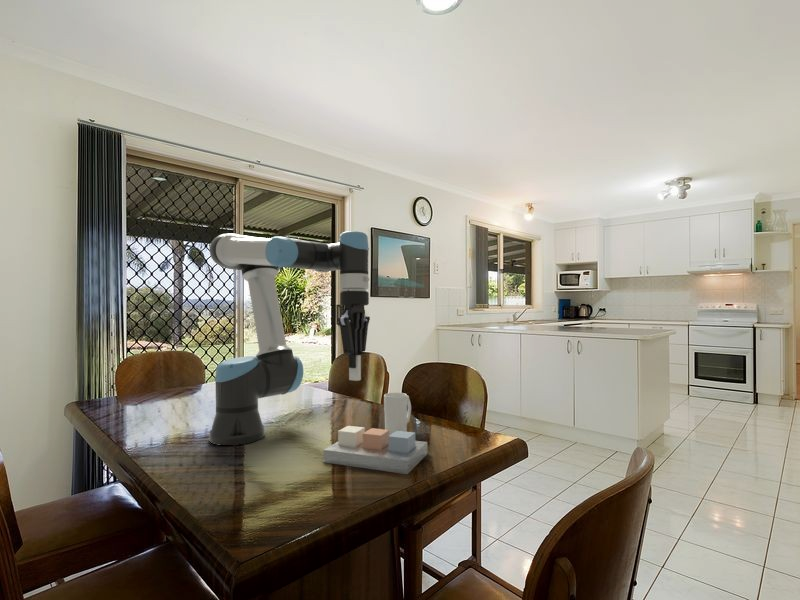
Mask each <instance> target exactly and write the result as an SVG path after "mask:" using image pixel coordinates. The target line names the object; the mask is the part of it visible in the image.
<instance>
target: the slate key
mask: <svg viewBox="0 0 800 600" xmlns="http://www.w3.org/2000/svg"><path fill="white" fill-rule="evenodd" d="M415 441H416V432H415V431H414V432H413V431H407V432H405V431H395V432H394V433H393V434H391V435H390V436H389V452H397V453H405V454H409V453H411V452H412V451H413V450H414V449H415V448H416V443H415Z"/></svg>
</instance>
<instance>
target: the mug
mask: <svg viewBox="0 0 800 600" xmlns="http://www.w3.org/2000/svg"><path fill="white" fill-rule="evenodd" d="M383 409H384V429H385V430H389V436H390V435H391V434H393V433H394V432H395V431H405V432H408V423H410V418H411V413H412V404H411V400H410V396H409V395H407V393H404V392H388V393H385V394H384V395H383Z"/></svg>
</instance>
